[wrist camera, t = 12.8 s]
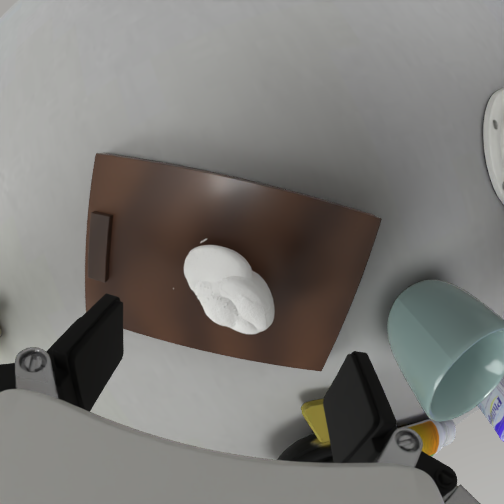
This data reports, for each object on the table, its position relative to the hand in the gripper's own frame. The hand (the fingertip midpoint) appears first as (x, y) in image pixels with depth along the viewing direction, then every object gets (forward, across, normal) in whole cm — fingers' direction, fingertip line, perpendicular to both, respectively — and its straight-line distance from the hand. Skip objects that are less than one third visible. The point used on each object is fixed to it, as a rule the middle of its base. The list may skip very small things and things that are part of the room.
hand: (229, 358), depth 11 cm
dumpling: (+9, +1, +1) cm, 9 cm away
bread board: (+10, +2, +1) cm, 11 cm away
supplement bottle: (+8, -21, +18) cm, 29 cm away
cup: (+11, -15, +1) cm, 19 cm away
